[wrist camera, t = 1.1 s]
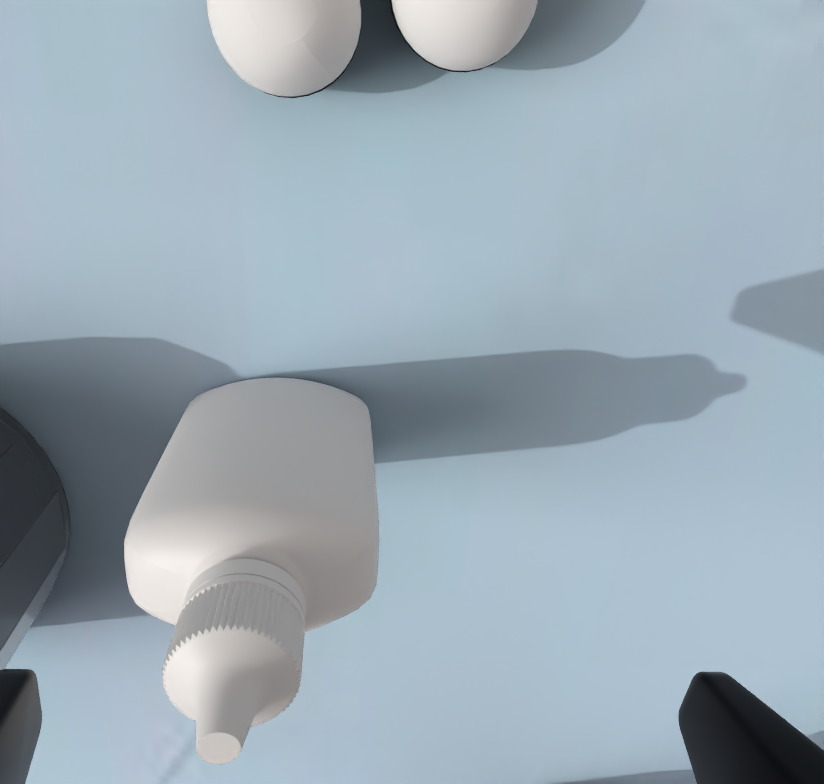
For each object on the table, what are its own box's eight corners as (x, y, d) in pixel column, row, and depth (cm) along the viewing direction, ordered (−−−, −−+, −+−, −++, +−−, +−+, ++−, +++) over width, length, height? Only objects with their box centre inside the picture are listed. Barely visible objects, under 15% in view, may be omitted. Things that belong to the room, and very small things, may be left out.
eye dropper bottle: (324, 512, 23) (306, 878, 12) (168, 438, 22) (-11, 781, 11) (392, 411, 22) (440, 716, 11) (232, 324, 21) (104, 579, 10)
